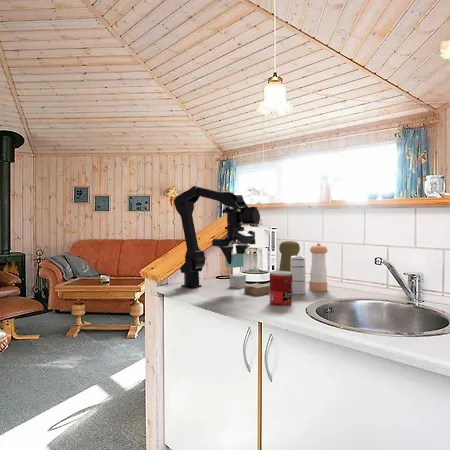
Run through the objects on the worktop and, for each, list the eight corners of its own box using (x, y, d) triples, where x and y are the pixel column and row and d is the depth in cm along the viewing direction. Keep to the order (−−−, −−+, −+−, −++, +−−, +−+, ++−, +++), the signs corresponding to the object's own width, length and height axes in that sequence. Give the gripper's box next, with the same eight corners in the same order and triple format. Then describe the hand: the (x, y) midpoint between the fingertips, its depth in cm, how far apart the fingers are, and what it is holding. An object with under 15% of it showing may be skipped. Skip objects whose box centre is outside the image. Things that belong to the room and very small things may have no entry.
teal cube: (225, 266, 161) (225, 254, 161) (234, 265, 165) (234, 253, 164) (234, 267, 157) (234, 254, 157) (243, 266, 161) (243, 253, 161)
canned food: (287, 307, 136) (287, 274, 136) (265, 304, 141) (265, 272, 140) (295, 302, 143) (296, 271, 143) (275, 300, 147) (275, 270, 147)
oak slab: (244, 292, 160) (244, 285, 160) (256, 290, 165) (256, 283, 165) (257, 295, 155) (257, 287, 155) (269, 293, 160) (269, 285, 159)
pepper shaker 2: (325, 288, 170) (326, 242, 170) (328, 291, 163) (329, 244, 162) (308, 288, 171) (308, 242, 170) (310, 291, 164) (310, 244, 163)
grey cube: (229, 287, 173) (229, 275, 173) (235, 285, 177) (235, 274, 177) (239, 288, 170) (239, 276, 170) (245, 286, 174) (245, 275, 174)
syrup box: (305, 294, 158) (305, 257, 157) (290, 293, 159) (290, 256, 158) (305, 291, 163) (305, 255, 163) (290, 290, 165) (290, 255, 164)
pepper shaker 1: (303, 286, 174) (303, 242, 174) (278, 286, 174) (279, 242, 174) (299, 282, 185) (299, 240, 184) (275, 282, 185) (276, 240, 184)
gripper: (230, 224, 148) (231, 267, 149) (265, 223, 161) (265, 263, 161) (211, 224, 157) (211, 264, 157) (245, 223, 169) (246, 260, 169)
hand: (234, 263), depth 161 cm, fingers closed on teal cube, 5 cm apart
